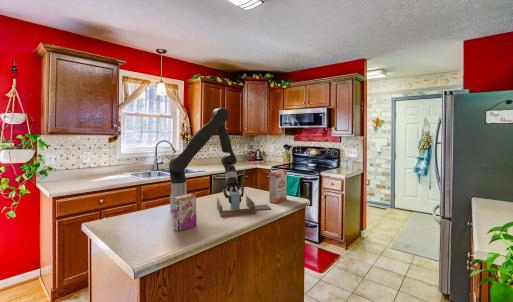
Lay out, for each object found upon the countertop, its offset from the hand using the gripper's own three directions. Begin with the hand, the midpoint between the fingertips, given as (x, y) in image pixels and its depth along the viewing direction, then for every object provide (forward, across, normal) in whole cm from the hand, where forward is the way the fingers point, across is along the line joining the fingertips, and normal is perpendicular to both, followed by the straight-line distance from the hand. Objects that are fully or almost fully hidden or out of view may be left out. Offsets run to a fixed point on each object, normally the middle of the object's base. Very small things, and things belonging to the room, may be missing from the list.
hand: (235, 202), depth 163 cm
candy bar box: (+19, -30, -11) cm, 37 cm away
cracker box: (-7, +33, +14) cm, 36 cm away
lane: (+2, 0, +5) cm, 6 cm away
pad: (+2, +17, +5) cm, 18 cm away
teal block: (+2, 0, +5) cm, 6 cm away
